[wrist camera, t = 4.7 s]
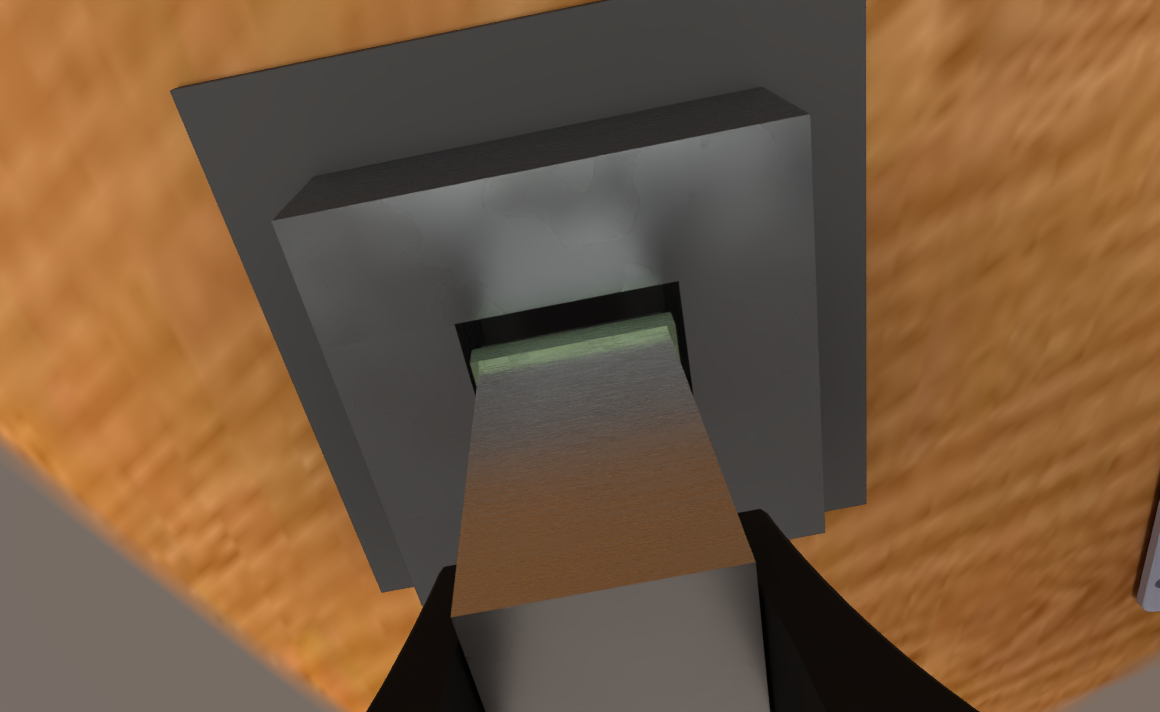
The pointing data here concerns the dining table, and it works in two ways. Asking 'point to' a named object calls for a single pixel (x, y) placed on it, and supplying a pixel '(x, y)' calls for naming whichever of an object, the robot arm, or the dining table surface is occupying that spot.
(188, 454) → the dining table surface
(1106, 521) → the dining table surface
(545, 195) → the jack housing
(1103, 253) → the dining table surface
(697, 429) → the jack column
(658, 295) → the base mat
